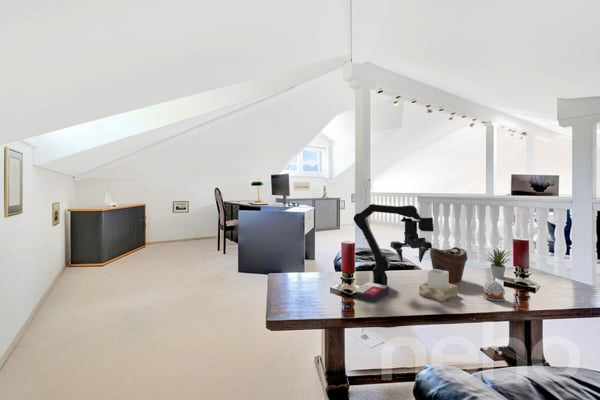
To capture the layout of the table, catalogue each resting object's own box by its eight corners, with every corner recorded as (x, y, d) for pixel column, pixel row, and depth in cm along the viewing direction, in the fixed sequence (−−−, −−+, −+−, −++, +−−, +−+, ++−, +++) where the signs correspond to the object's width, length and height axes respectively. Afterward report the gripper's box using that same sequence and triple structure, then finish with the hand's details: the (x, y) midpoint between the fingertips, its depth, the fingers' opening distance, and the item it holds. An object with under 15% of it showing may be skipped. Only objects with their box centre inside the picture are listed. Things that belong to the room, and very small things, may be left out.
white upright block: (427, 292, 141) (428, 271, 141) (434, 289, 145) (434, 268, 145) (442, 296, 136) (442, 274, 136) (448, 293, 140) (448, 271, 140)
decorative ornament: (508, 302, 131) (508, 267, 131) (490, 302, 131) (490, 267, 131) (497, 296, 139) (497, 263, 138) (480, 296, 139) (480, 263, 138)
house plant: (522, 279, 163) (523, 249, 162) (501, 281, 160) (501, 250, 159) (500, 272, 176) (500, 244, 176) (479, 274, 174) (480, 246, 173)
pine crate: (419, 294, 142) (419, 285, 141) (431, 289, 149) (431, 279, 149) (445, 301, 132) (445, 291, 132) (457, 295, 140) (457, 285, 140)
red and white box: (352, 290, 139) (367, 280, 151) (352, 299, 140) (367, 289, 151) (374, 295, 132) (388, 284, 144) (374, 304, 132) (389, 293, 144)
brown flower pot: (471, 278, 165) (471, 245, 165) (462, 288, 150) (461, 251, 150) (437, 273, 177) (436, 243, 177) (425, 281, 162) (424, 248, 162)
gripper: (397, 233, 142) (397, 266, 142) (437, 232, 142) (437, 266, 142) (390, 230, 153) (390, 261, 153) (427, 229, 153) (427, 260, 154)
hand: (410, 262), depth 150 cm, fingers open, 9 cm apart
